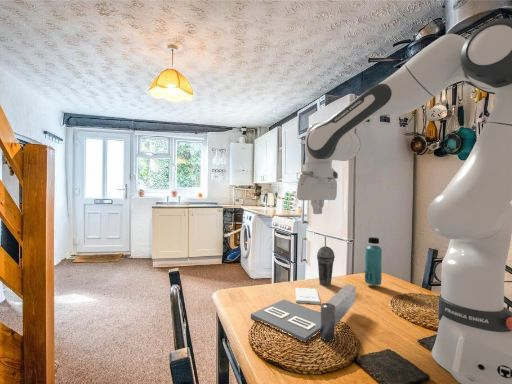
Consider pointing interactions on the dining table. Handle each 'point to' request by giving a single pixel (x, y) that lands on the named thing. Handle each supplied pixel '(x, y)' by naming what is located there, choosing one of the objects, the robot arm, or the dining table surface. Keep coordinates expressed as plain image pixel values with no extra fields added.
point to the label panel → (291, 319)
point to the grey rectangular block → (335, 311)
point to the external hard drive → (307, 296)
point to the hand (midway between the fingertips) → (317, 214)
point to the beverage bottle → (373, 262)
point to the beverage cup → (325, 264)
